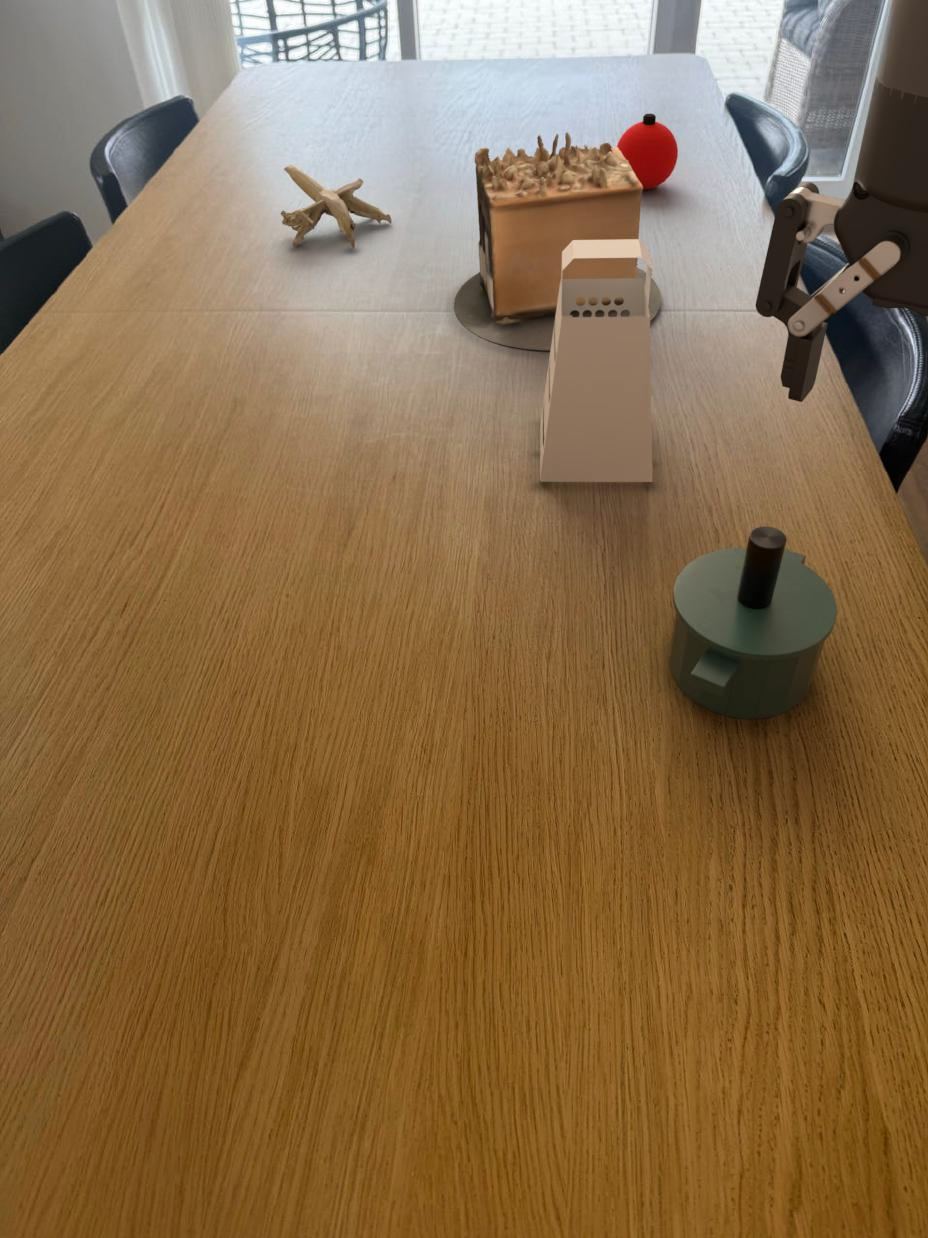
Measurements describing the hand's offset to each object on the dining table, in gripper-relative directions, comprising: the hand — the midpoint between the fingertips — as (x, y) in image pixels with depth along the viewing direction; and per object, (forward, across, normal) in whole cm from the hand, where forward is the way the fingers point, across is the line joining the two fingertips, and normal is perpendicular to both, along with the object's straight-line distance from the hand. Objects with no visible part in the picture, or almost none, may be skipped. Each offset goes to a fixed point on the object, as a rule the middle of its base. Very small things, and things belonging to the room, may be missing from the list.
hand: (881, 415), depth 50 cm
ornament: (+25, -56, +88) cm, 108 cm away
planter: (+25, -49, +50) cm, 74 cm away
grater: (+26, -29, +24) cm, 46 cm away
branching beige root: (+24, -87, +52) cm, 104 cm away
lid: (+19, -6, +4) cm, 21 cm away
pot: (+26, -6, +4) cm, 27 cm away
